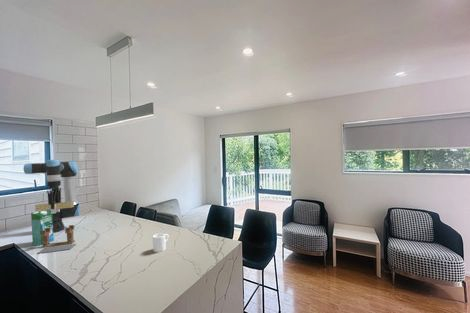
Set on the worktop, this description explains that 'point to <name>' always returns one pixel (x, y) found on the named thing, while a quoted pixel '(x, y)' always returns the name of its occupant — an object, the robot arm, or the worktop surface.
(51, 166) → the robot arm
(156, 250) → the mug
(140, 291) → the worktop surface
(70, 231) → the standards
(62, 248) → the mat
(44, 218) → the milk carton
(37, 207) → the rail
